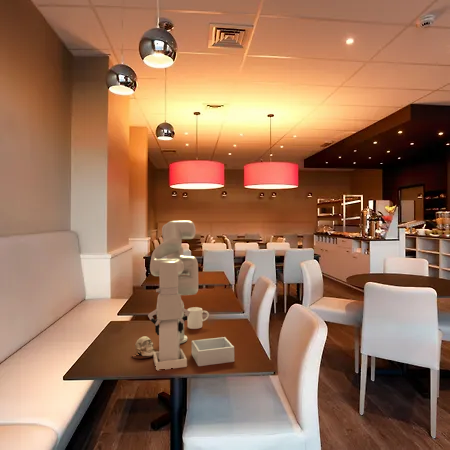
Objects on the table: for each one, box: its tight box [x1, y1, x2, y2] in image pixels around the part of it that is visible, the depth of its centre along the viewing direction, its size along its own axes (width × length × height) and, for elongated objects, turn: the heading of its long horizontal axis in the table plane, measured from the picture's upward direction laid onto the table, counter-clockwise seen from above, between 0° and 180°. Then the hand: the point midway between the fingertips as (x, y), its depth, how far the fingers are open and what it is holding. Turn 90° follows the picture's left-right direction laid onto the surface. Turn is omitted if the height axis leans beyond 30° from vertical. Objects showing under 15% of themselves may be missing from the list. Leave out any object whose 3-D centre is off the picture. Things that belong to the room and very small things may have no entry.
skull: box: [132, 336, 159, 359], centre depth 153 cm, size 12×10×10 cm
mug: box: [186, 306, 210, 330], centre depth 193 cm, size 8×12×10 cm
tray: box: [153, 348, 188, 371], centre depth 144 cm, size 12×12×3 cm
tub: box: [191, 336, 235, 367], centre depth 149 cm, size 13×15×6 cm
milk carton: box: [158, 319, 181, 362], centre depth 144 cm, size 7×7×19 cm
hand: (169, 333), depth 144 cm, fingers closed on milk carton, 8 cm apart
